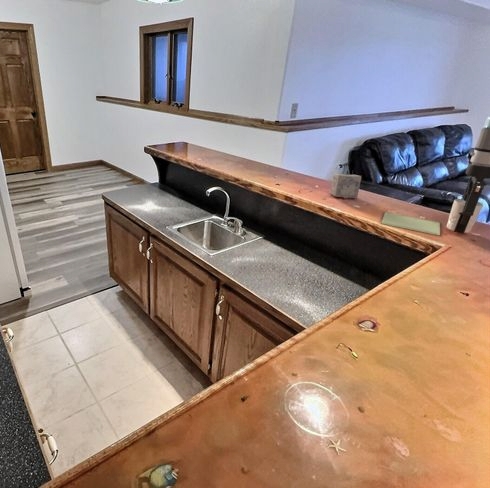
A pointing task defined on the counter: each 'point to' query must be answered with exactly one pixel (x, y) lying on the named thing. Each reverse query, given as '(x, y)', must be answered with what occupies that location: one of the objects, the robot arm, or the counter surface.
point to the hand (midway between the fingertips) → (458, 228)
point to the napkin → (411, 223)
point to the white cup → (458, 208)
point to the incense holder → (345, 185)
